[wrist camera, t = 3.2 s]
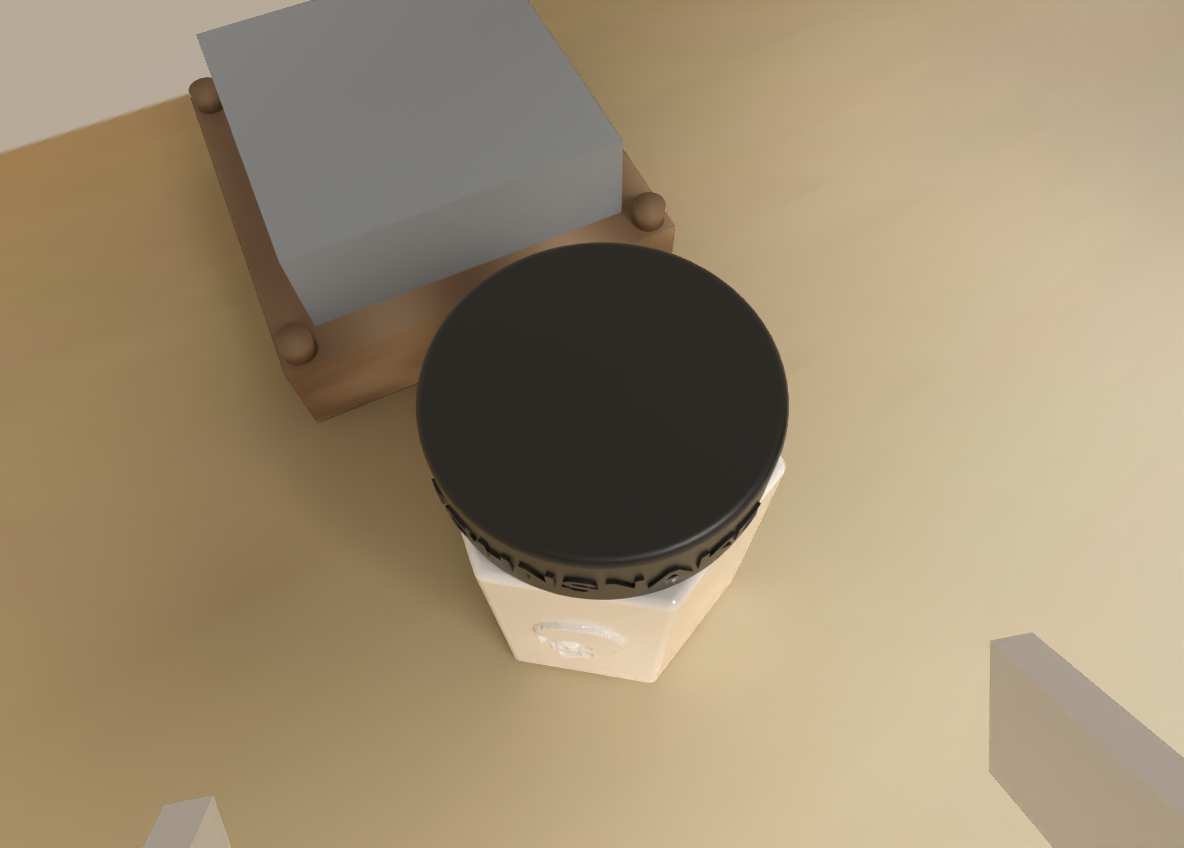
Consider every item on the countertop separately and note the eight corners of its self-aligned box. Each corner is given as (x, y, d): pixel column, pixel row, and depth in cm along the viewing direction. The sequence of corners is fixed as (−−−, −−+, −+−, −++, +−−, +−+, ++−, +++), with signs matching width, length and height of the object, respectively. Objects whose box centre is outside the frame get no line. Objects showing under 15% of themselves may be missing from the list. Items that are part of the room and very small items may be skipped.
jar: (448, 656, 27) (344, 531, 16) (502, 437, 30) (446, 217, 20) (721, 703, 26) (802, 604, 15) (742, 472, 30) (819, 262, 19)
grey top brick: (502, 24, 36) (492, -54, 33) (621, 212, 31) (623, 141, 28) (234, 109, 34) (196, 34, 30) (315, 326, 28) (279, 263, 25)
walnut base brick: (526, 61, 40) (518, -22, 36) (668, 283, 33) (676, 211, 30) (225, 160, 37) (181, 81, 33) (317, 422, 31) (276, 362, 27)
